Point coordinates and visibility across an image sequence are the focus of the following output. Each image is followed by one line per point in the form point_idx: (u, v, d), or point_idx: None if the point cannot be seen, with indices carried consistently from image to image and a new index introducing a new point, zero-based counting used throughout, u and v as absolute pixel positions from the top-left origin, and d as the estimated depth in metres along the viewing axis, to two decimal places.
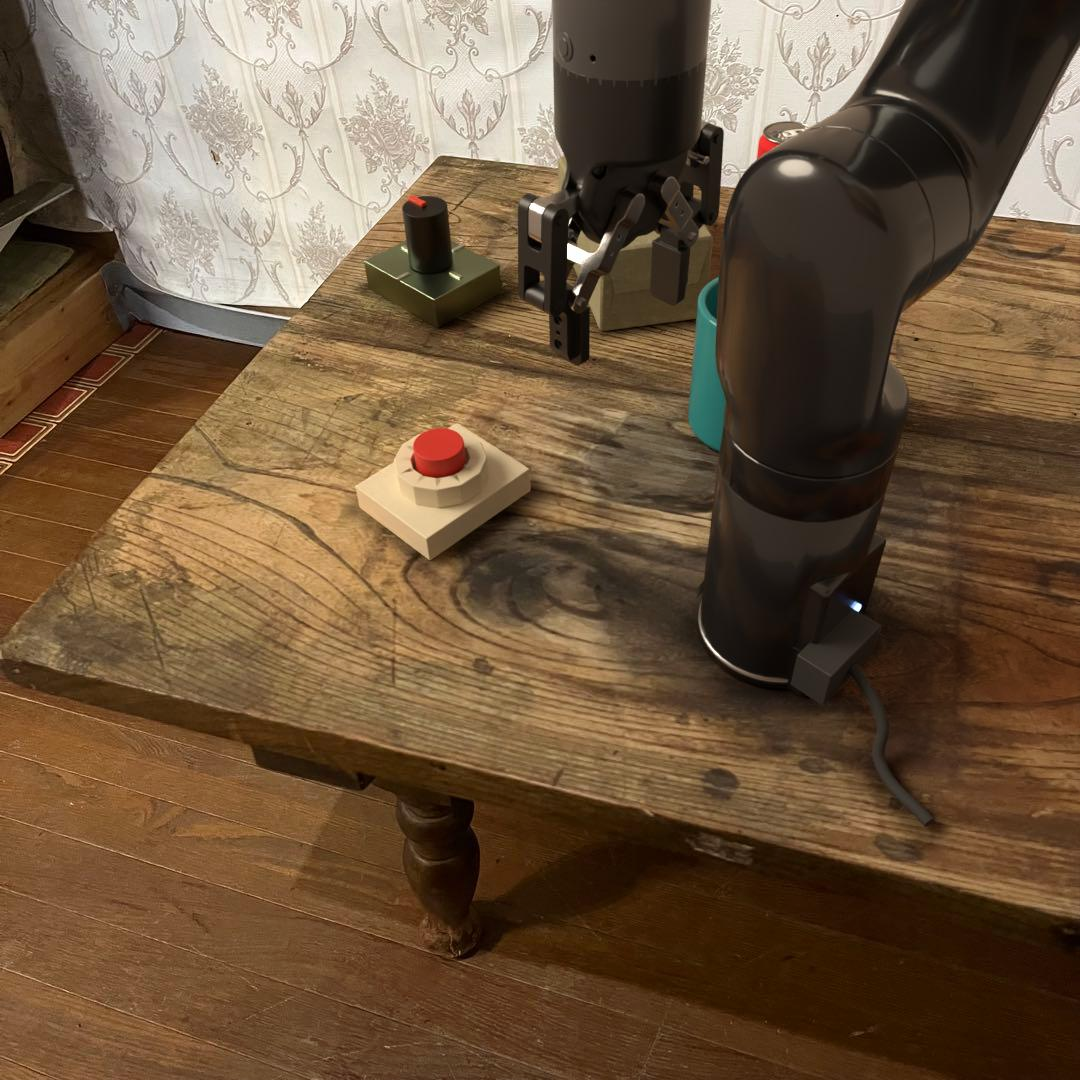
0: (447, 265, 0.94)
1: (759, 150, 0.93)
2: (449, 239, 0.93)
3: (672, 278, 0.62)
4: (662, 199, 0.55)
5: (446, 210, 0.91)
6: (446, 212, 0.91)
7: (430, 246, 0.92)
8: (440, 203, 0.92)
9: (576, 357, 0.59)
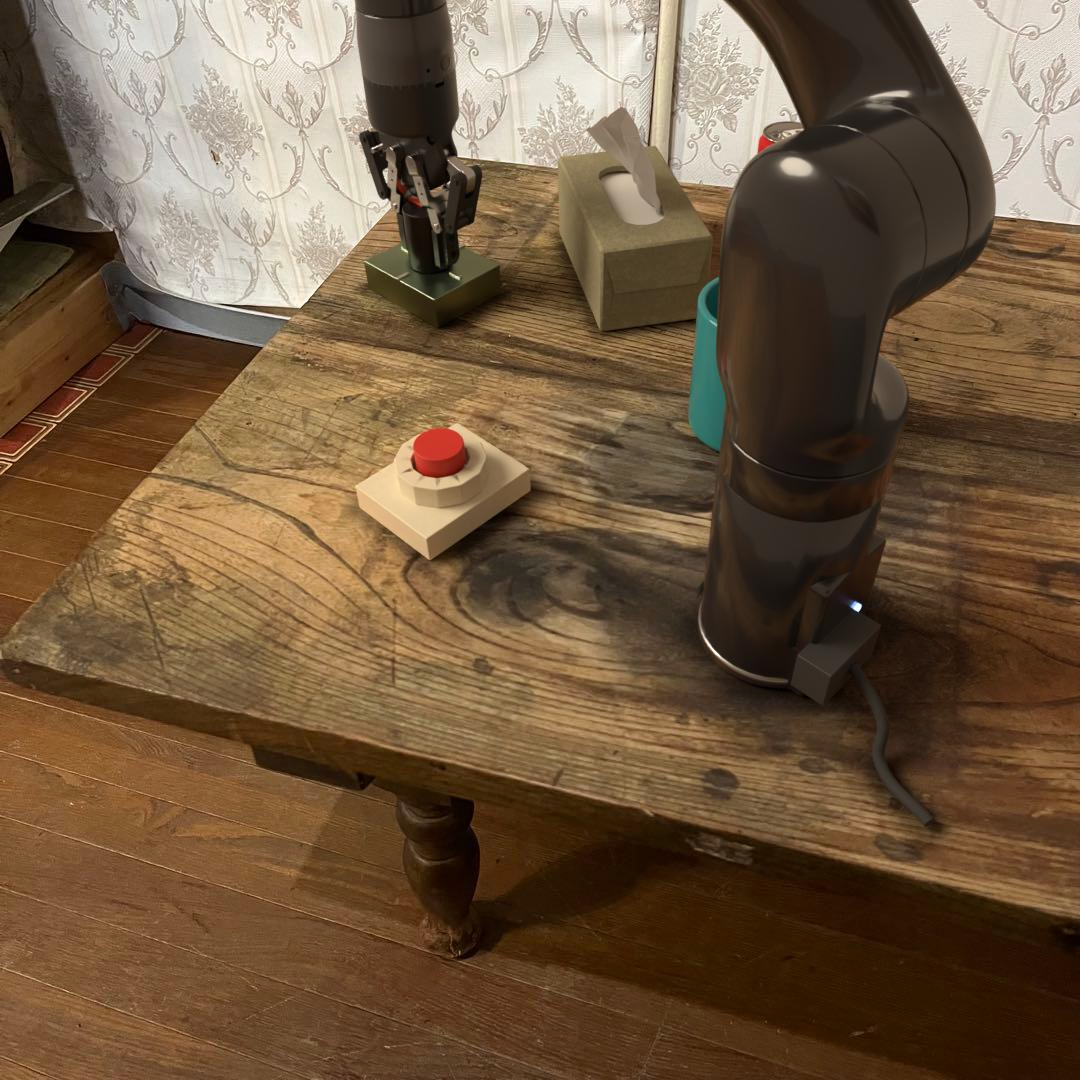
0: None
1: (759, 150, 0.93)
2: None
3: None
4: (407, 165, 0.87)
5: None
6: None
7: (430, 246, 0.92)
8: None
9: None
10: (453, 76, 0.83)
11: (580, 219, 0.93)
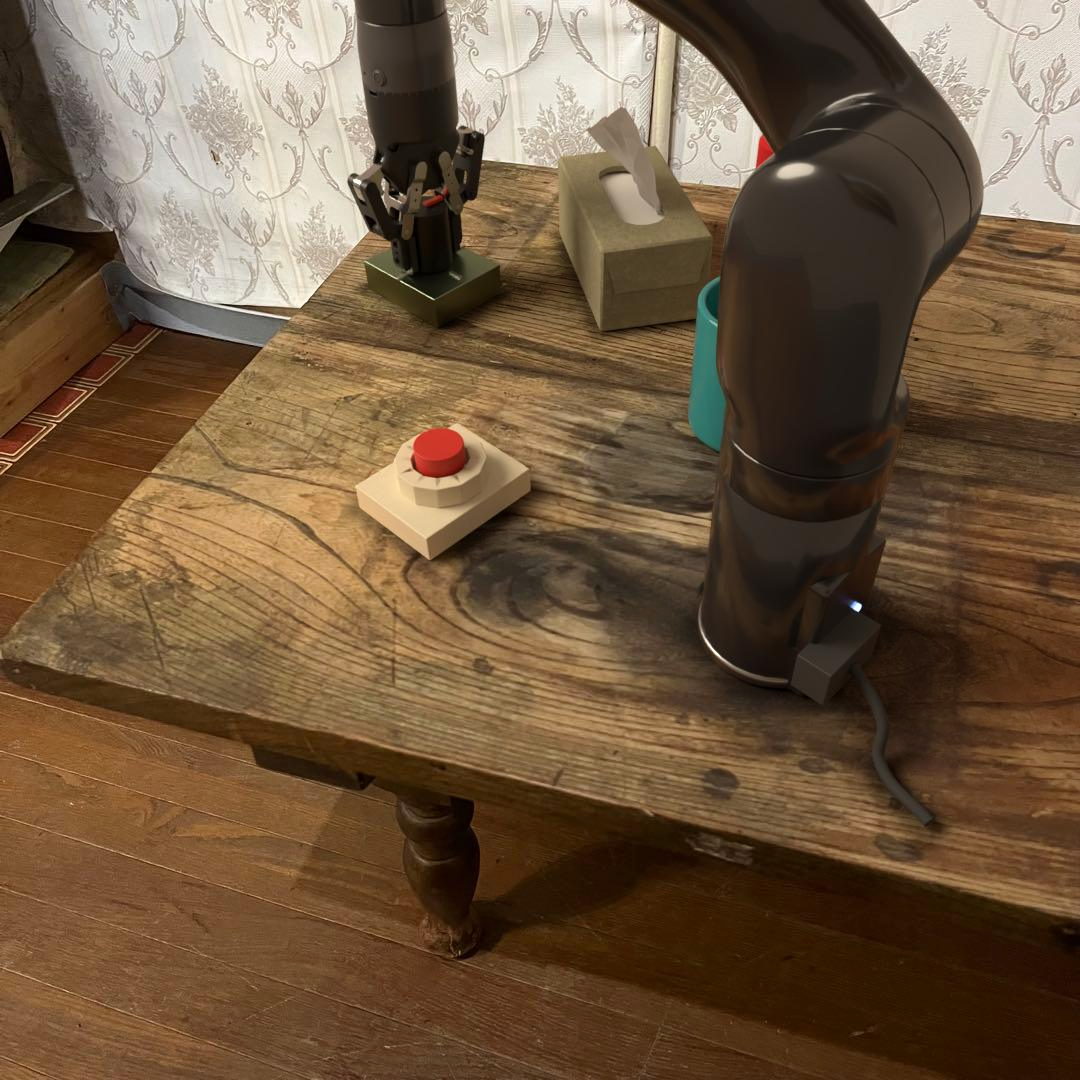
0: None
1: (759, 150, 0.93)
2: (421, 249, 0.92)
3: None
4: None
5: (417, 219, 0.90)
6: (416, 221, 0.90)
7: None
8: (427, 213, 0.90)
9: None
10: (394, 99, 0.81)
11: (580, 219, 0.93)
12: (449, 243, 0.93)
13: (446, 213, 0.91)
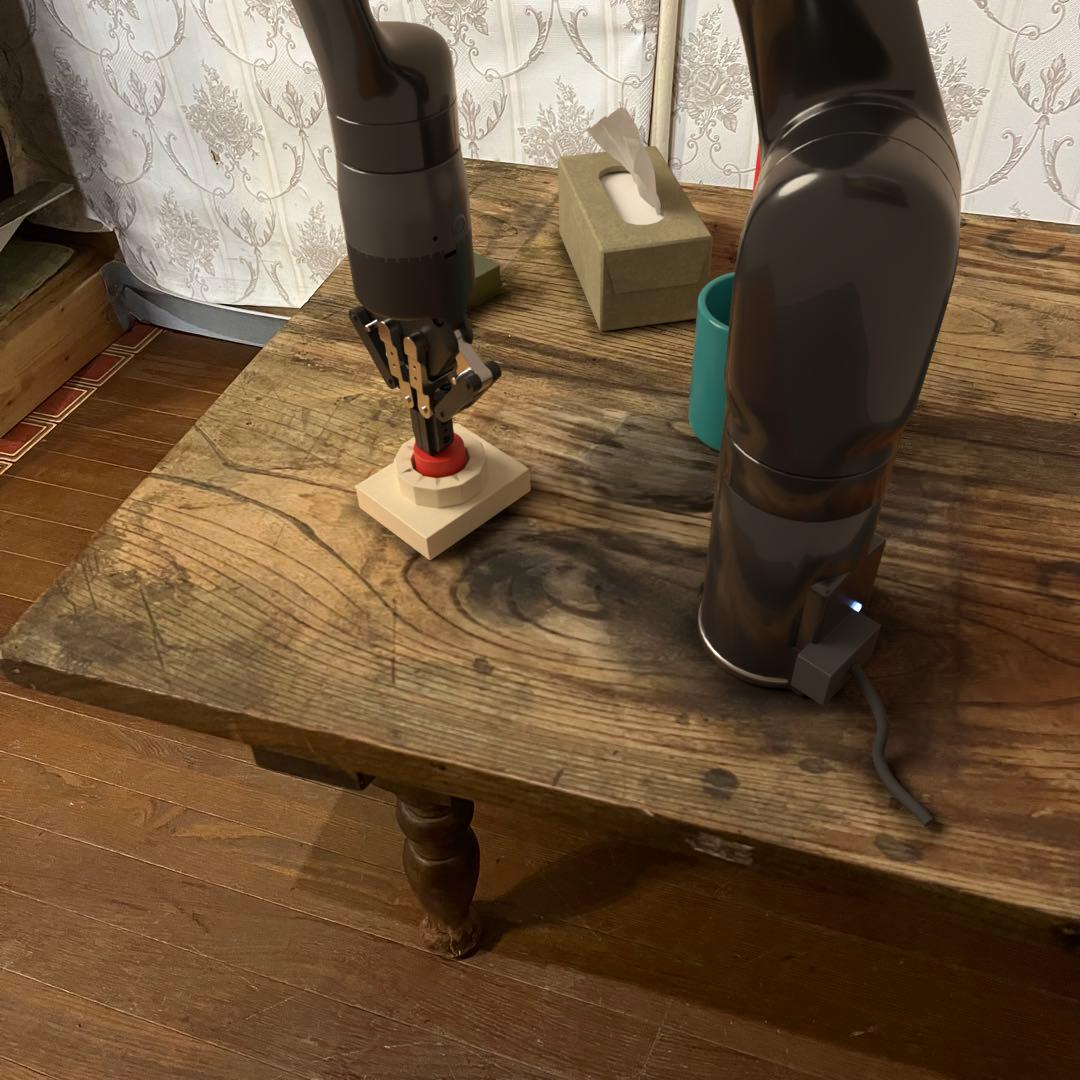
0: None
1: (759, 150, 0.93)
2: None
3: None
4: (404, 343, 0.65)
5: None
6: None
7: None
8: None
9: None
10: (468, 239, 0.61)
11: (580, 219, 0.93)
12: None
13: None
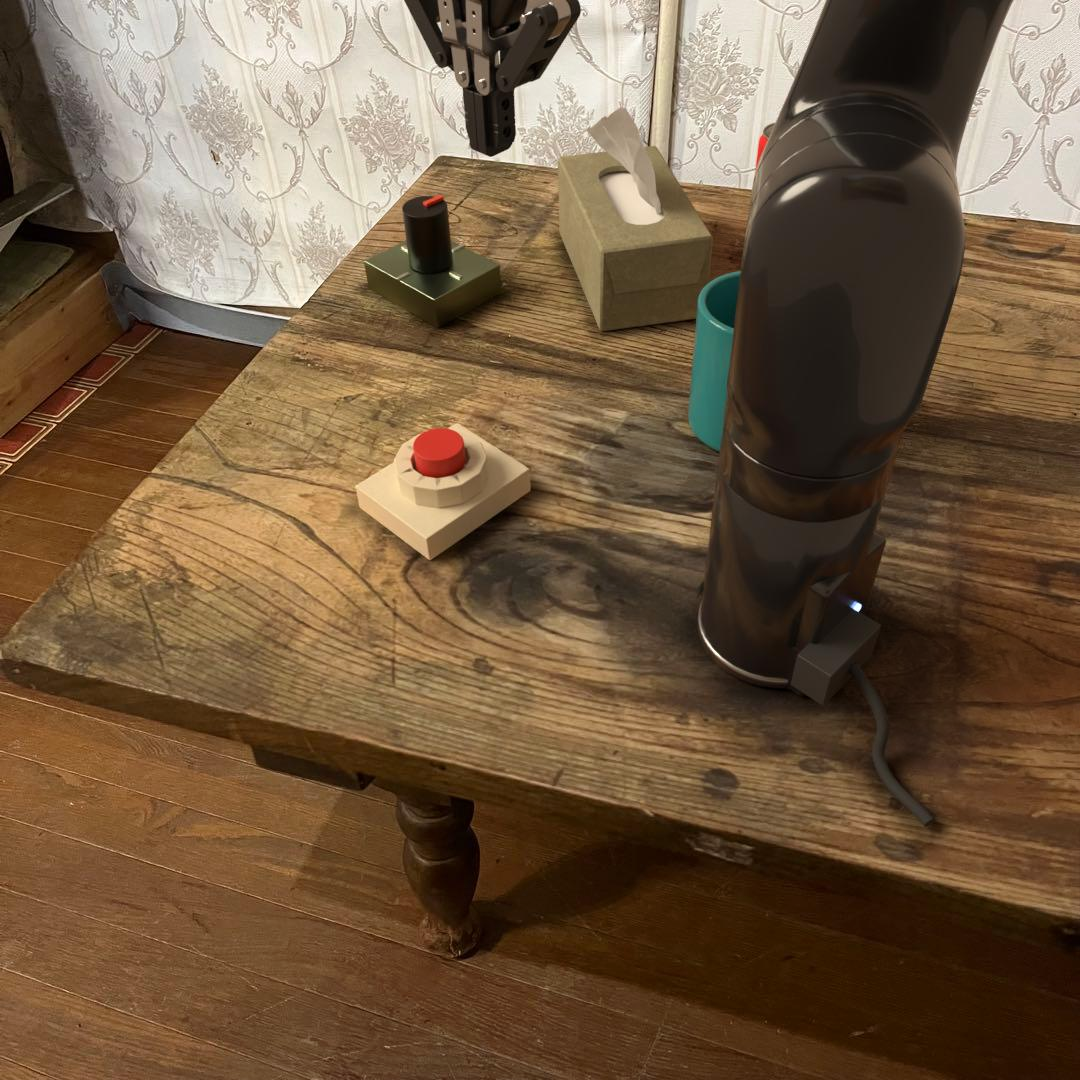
0: (415, 268, 0.94)
1: (759, 150, 0.93)
2: (421, 249, 0.92)
3: None
4: None
5: (417, 219, 0.90)
6: (416, 221, 0.90)
7: (406, 237, 0.93)
8: (427, 213, 0.90)
9: None
10: None
11: (580, 219, 0.93)
12: (449, 243, 0.93)
13: (446, 213, 0.91)
